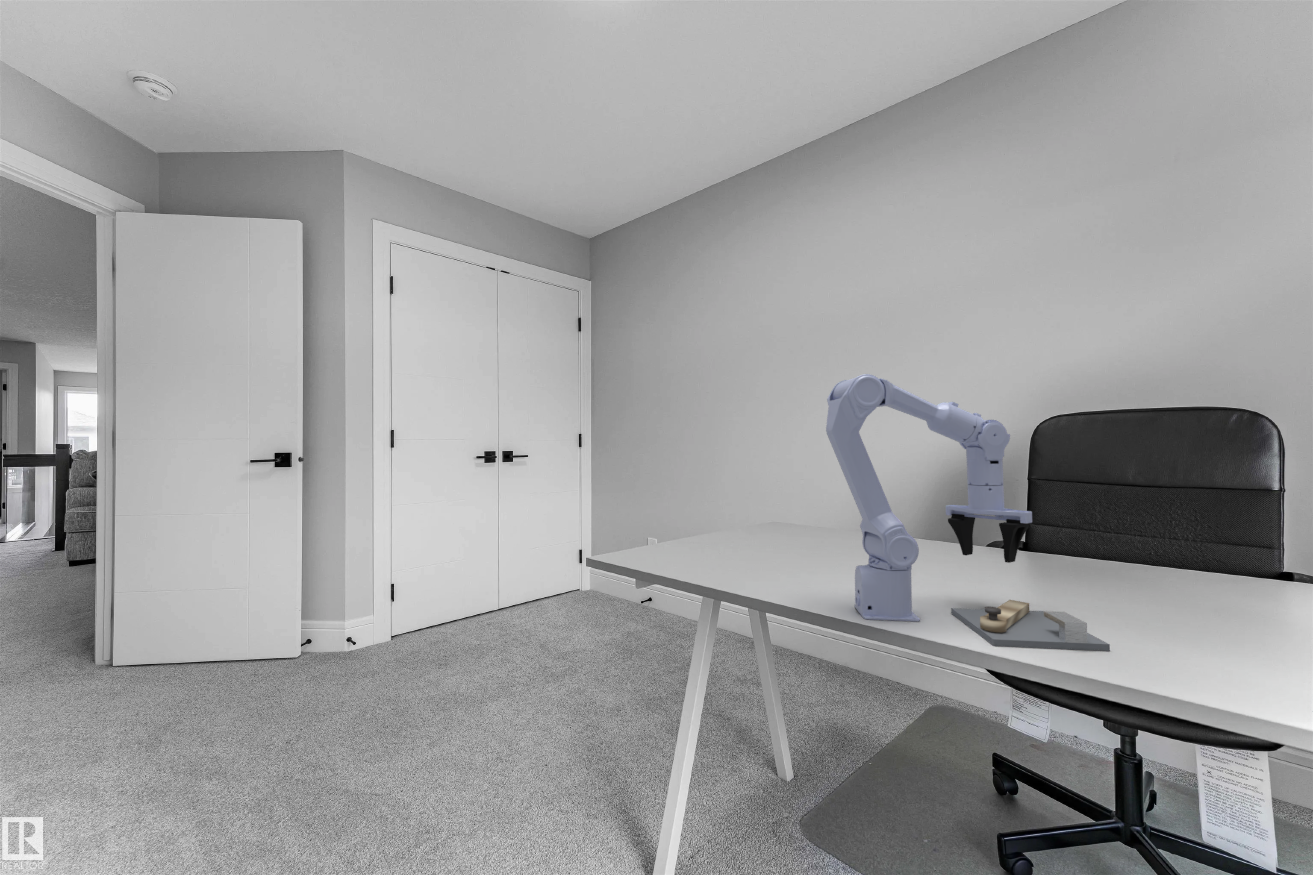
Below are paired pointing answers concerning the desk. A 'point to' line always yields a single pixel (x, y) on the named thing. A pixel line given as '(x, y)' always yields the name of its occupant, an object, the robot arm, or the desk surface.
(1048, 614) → the keeper
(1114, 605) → the desk surface
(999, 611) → the tan latch lever
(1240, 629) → the desk surface
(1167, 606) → the desk surface
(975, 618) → the base plate
